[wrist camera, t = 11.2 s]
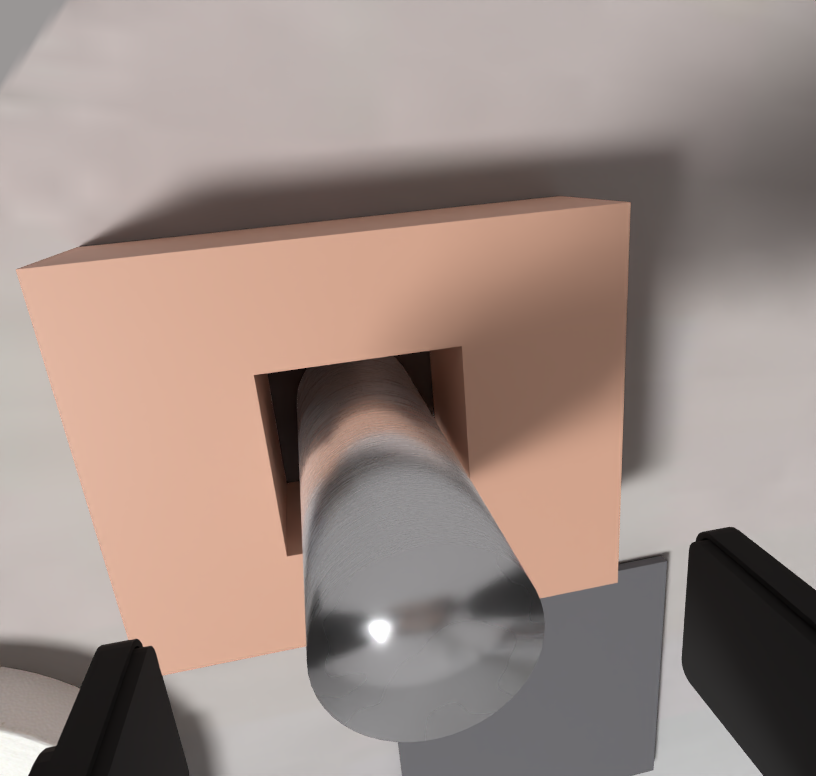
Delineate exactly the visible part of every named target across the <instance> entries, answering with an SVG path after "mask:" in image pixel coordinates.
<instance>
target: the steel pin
mask: <svg viewBox="0 0 816 776" xmlns="http://www.w3.org/2000/svg"><path fill="white" fill-rule="evenodd" d="M297 424H298V449H299V474H300V499H301V524H302V550H303V575H304V600H305V625H306V650H307V667H308V675H309V678H310V682H311V686H312V688H313V690H314V692H315V694H316V697H317V698H318V700H319V701H320V703H321V704H322V706H323V707H324V708H325V709H326V710H327V711H328V712H329V713H330V714H331V716H332V717H334V718H335V719H336V720H337V721H339V722H340V723H341V724H343V725H344V726H346V727H348V728H350V729H352V730H353V731H355V732H358V733H360V734H363V735H365V736H368V737H372V738H376V739H380V740H386V741H394V742H417V741H426V740H432V739H438V738H441V737H445V736H449V735H452V734H455V733H457V732H460V731H463V730H465V729H468V728H470V727H472V726H474V725H476V724H478V723H480V722H481V721H483V720H484V719H486V718H488V717H489V716H491V715H492V714H494V713H495V712H496V711H498V710H499V709H500V708H501V707H503V706H504V705H505V704H506V703H507V702H508V701H509V700H510V699H511V698H512V697H513V696H514V695H515V694H516V693H517V692H518V691H519V690H520V688H521V687H522V686H523V685H524V683H525V682H526V680H527V679H528V677H529V676H530V674H531V673H532V671H533V669H534V667H535V665H536V663H537V661H538V658H539V655H540V652H541V649H542V645H543V640H544V631H545V620H544V611H543V608H542V604H541V600H540V598H539V596H538V593H537V591H536V589H535V587H534V586H533V584H532V582H531V580H530V579H529V577H528V575H527V574H526V572H525V570H524V569H523V567H522V565H521V564H520V562H519V560H518V559H517V557H516V555H515V554H514V552H513V550H512V549H511V547H510V545H509V543H508V542H507V540H506V538H505V537H504V535H503V533H502V532H501V530H500V528H499V527H498V525H497V523H496V522H495V520H494V518H493V517H492V515H491V513H490V511H489V510H488V508H487V506H486V505H485V503H484V501H483V500H482V498H481V496H480V495H479V493H478V491H477V490H476V488H475V486H474V485H473V483H472V481H471V480H470V478H469V476H468V474H467V473H466V471H465V469H464V468H463V466H462V464H461V463H460V461H459V459H458V458H457V456H456V454H455V453H454V451H453V449H452V448H451V446H450V444H449V443H448V441H447V439H446V437H445V436H444V434H443V432H442V431H441V429H440V427H439V426H438V424H437V422H436V421H435V419H434V417H433V416H432V414H431V412H430V411H429V409H428V407H427V405H426V404H425V402H424V400H423V399H422V397H421V395H420V394H419V392H418V390H417V389H416V387H415V385H414V384H413V382H412V380H411V379H410V377H409V375H408V374H407V372H406V370H405V369H404V367H403V366H402V364H401V363H400V362H399V361H398V360H397V359H396V358H395V357H394V356H387V357H380V358H373V359H366V360H358V361H351V362H344V363H337V364H330V365H323V366H316V367H308V368H307V370H306V371H305V372H304V374H303V376H302V378H301V381H300V383H299V386H298V391H297Z"/></svg>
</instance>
